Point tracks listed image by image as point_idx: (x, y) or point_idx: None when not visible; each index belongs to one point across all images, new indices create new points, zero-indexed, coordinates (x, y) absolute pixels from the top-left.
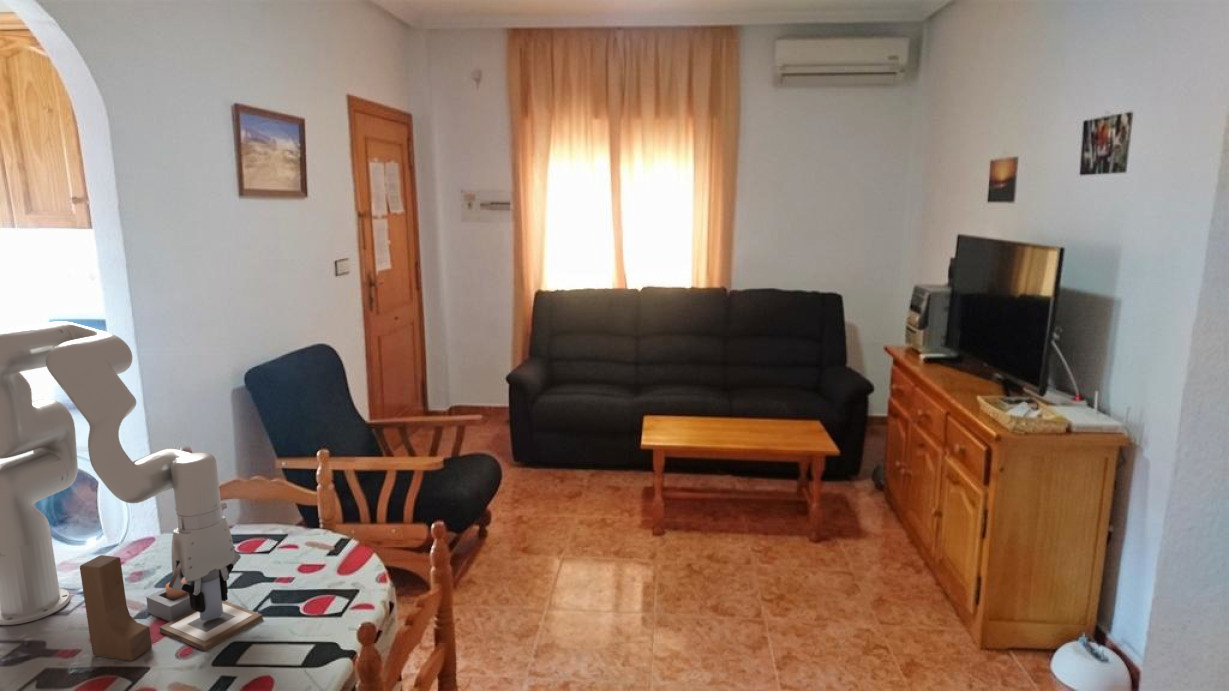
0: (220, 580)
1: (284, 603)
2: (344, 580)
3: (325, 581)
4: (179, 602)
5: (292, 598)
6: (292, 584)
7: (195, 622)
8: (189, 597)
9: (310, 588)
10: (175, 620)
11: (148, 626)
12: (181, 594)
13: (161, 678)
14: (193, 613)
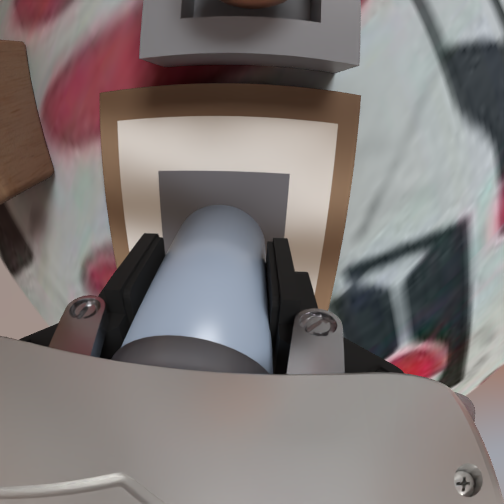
0: (274, 369)
1: (405, 312)
2: (496, 336)
3: (498, 308)
4: (188, 53)
5: (430, 309)
6: (491, 248)
7: (180, 191)
8: (101, 293)
9: (473, 306)
10: (155, 96)
11: (6, 194)
12: (237, 1)
13: (43, 312)
14: (224, 111)
